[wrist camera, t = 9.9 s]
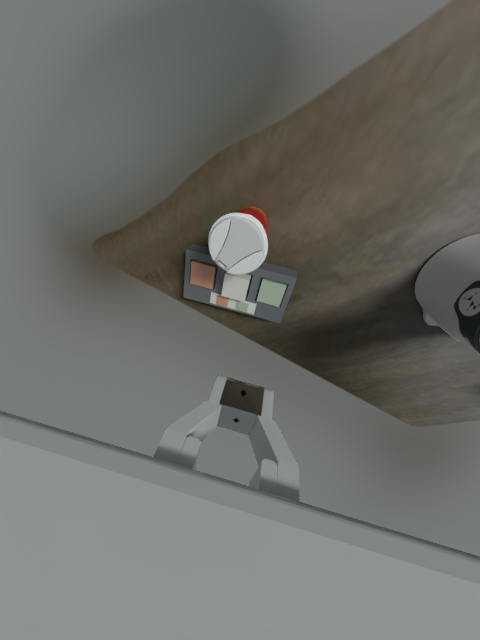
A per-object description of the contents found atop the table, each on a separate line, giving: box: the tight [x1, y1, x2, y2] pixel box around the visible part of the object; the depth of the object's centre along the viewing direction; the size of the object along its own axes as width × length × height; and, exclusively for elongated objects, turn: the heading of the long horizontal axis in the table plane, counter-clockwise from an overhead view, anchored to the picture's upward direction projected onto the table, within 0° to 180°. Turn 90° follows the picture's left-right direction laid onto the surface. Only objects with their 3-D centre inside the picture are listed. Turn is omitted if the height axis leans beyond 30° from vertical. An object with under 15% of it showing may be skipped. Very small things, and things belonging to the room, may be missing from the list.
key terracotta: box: [190, 260, 218, 289], centre depth 43 cm, size 4×4×2 cm
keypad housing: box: [183, 244, 297, 323], centre depth 44 cm, size 20×10×4 cm, turn 79°
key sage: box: [257, 278, 287, 307], centre depth 43 cm, size 4×4×2 cm
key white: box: [221, 271, 251, 302], centre depth 42 cm, size 4×4×2 cm
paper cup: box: [208, 206, 268, 275], centre depth 34 cm, size 8×8×14 cm
